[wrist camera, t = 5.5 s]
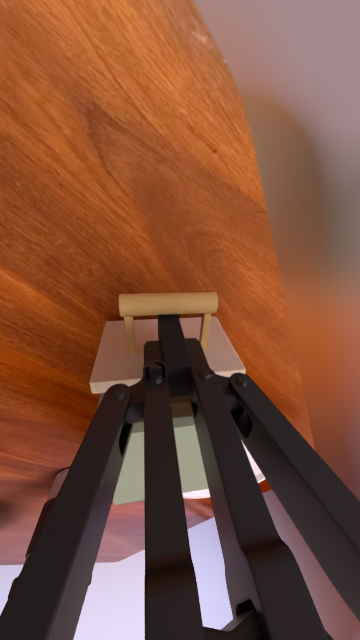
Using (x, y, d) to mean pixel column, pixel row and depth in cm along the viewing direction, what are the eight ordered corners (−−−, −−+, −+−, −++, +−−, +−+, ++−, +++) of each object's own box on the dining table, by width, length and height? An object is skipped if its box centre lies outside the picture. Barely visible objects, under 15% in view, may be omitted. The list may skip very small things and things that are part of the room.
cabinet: (108, 354, 24) (90, 438, 16) (212, 347, 26) (244, 419, 18) (121, 424, 32) (114, 505, 24) (200, 415, 34) (219, 486, 26)
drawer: (96, 270, 18) (70, 319, 11) (223, 270, 20) (264, 311, 13) (120, 404, 28) (113, 470, 21) (202, 395, 30) (219, 454, 23)
